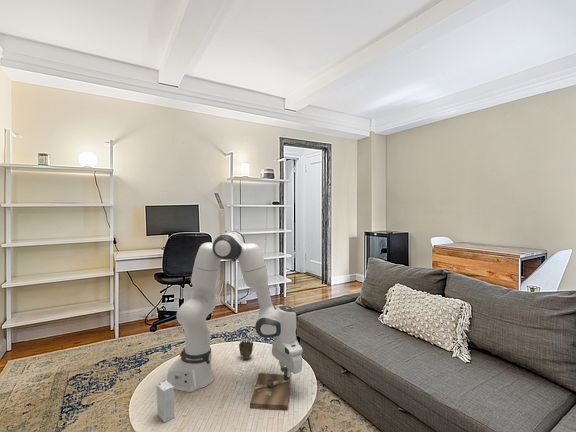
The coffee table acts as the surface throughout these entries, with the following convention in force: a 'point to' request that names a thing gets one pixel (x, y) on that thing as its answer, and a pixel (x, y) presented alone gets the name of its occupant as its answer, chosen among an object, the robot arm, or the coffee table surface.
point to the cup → (246, 349)
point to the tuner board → (271, 393)
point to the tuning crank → (271, 383)
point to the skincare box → (165, 401)
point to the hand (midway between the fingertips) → (285, 373)
